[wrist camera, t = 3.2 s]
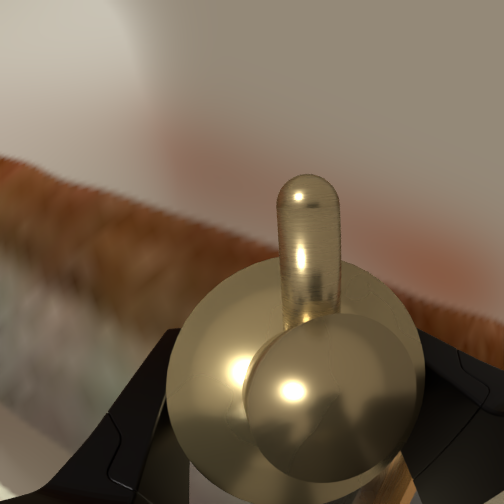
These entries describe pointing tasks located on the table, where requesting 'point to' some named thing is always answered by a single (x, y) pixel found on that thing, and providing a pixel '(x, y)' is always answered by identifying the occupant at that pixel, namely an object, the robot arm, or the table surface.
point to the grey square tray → (386, 487)
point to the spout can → (296, 367)
